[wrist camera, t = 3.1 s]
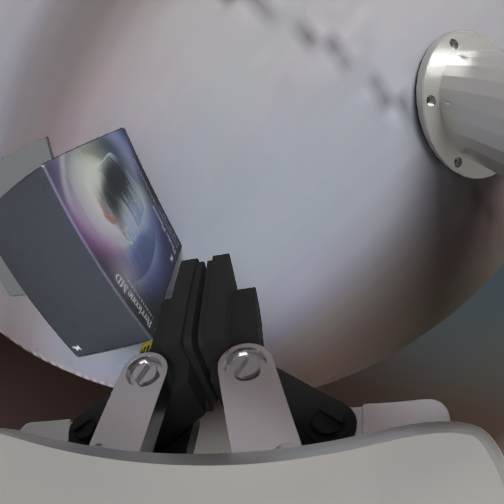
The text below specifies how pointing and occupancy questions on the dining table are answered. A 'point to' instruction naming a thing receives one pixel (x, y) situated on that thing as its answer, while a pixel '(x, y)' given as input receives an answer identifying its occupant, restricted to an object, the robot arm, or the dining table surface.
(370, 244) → the dining table surface
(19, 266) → the small box
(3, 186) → the mat
